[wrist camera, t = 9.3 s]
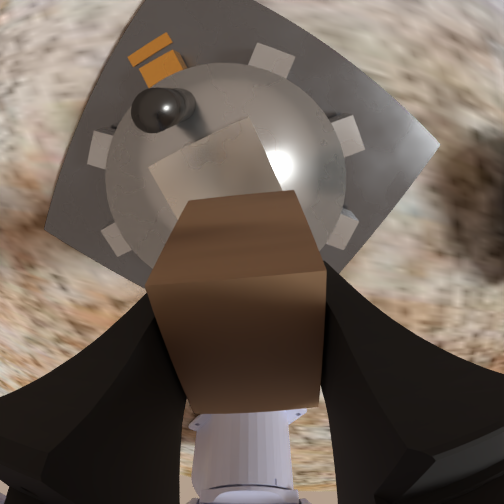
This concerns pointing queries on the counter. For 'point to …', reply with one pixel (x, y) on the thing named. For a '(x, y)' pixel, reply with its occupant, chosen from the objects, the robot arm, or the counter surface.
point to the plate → (240, 51)
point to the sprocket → (222, 149)
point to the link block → (242, 304)
